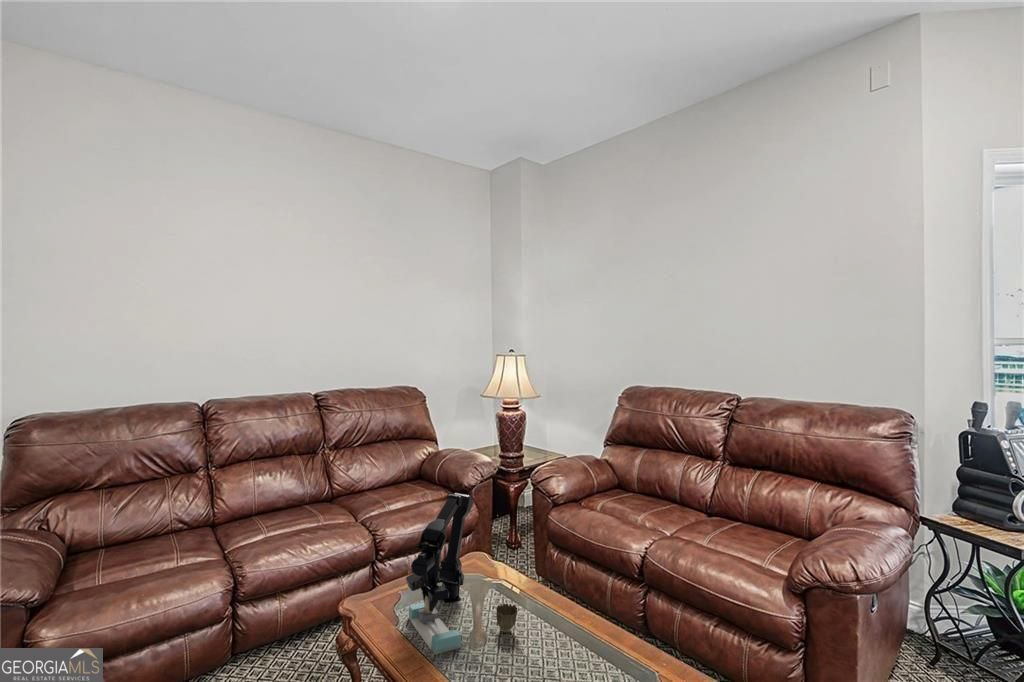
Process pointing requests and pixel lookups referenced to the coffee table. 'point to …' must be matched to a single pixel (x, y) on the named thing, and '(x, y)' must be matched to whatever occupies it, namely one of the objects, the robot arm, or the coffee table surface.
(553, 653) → the coffee table surface
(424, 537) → the robot arm
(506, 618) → the cup
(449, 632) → the rail track
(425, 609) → the carriage
